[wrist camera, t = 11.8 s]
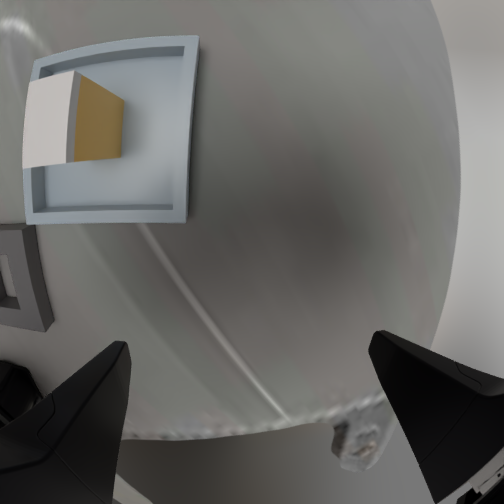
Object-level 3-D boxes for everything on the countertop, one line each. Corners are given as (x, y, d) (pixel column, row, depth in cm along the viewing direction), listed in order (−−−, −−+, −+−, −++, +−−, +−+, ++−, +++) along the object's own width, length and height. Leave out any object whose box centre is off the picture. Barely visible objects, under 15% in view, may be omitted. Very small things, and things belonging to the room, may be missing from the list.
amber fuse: (120, 157, 16) (66, 163, 9) (88, 160, 16) (22, 168, 8) (124, 100, 15) (74, 70, 8) (91, 104, 15) (29, 82, 7)
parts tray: (188, 214, 19) (185, 223, 17) (42, 216, 17) (26, 224, 15) (199, 49, 15) (199, 35, 13) (50, 67, 13) (34, 60, 11)
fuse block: (54, 320, 20) (45, 332, 18) (-2, 311, 18) (-11, 321, 17) (34, 223, 17) (21, 229, 15) (-22, 225, 16) (-34, 232, 14)
